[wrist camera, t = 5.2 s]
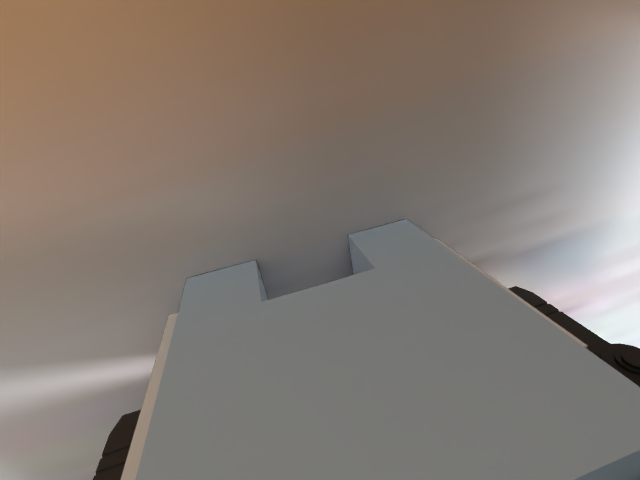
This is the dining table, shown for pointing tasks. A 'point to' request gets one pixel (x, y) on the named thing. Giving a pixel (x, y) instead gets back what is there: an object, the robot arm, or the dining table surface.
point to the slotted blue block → (383, 379)
